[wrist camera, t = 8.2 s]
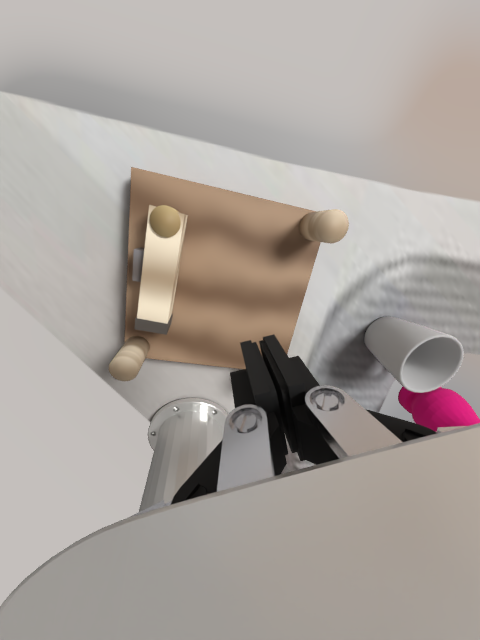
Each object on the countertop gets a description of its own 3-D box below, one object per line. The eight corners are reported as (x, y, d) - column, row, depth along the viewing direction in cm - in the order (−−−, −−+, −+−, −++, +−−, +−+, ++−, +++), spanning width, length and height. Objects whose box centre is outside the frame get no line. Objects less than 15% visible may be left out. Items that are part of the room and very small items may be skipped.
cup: (392, 298, 33) (449, 320, 25) (422, 344, 36) (480, 376, 29) (347, 334, 34) (387, 366, 26) (380, 375, 38) (425, 414, 30)
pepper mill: (425, 410, 42) (596, 558, 23) (388, 408, 41) (536, 563, 22) (443, 375, 39) (652, 509, 21) (404, 372, 38) (588, 511, 20)
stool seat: (138, 172, 25) (110, 151, 18) (319, 215, 28) (354, 212, 21) (130, 346, 31) (107, 380, 24) (276, 363, 35) (292, 398, 28)
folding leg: (156, 203, 23) (147, 200, 20) (189, 212, 24) (186, 210, 21) (142, 317, 27) (134, 329, 24) (171, 323, 28) (166, 335, 25)
